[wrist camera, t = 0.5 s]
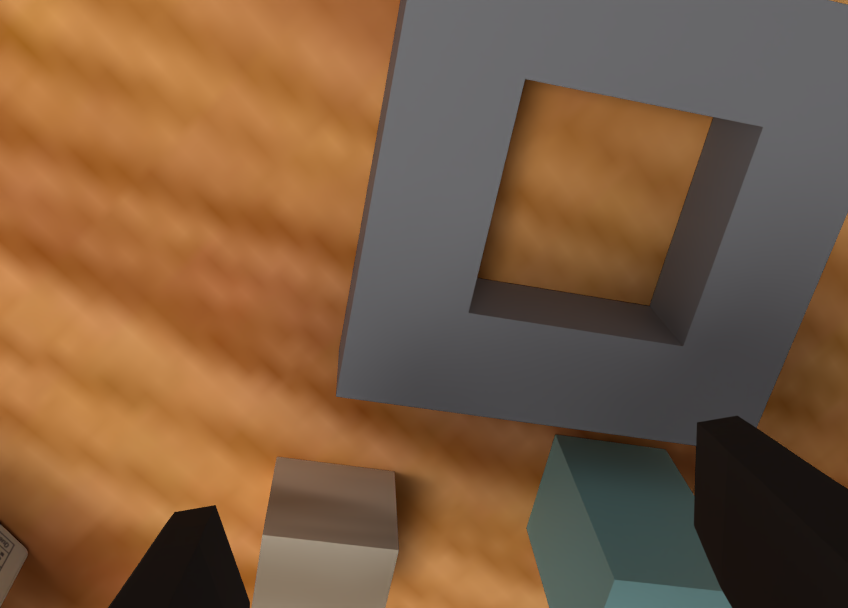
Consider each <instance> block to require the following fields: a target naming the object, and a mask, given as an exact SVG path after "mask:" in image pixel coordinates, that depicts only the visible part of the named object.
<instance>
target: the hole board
mask: <svg viewBox="0 0 848 608" xmlns="http://www.w3.org/2000/svg"><path fill="white" fill-rule="evenodd" d="M525 79H528V80H533V81H538V82H543V83H547V84H552V85H557V86H562V87H567V88H572V89H577V90H582V91H587V92H592V93H597V94H602V95H607V96H612V97H617V98H622V99H627V100H632V101H637V102H642V103H646V104H651V105H656V106H661V107H666V108H671V109H676V110H681V111H686V112H691V113H696V114H701V115H706V116H711V117H713V120H712V123H711V126H710V129H709V132H708V135H707V138H706V141H705V144H704V147H703V150H702V152H701V155H700V158H699V161H698V164H697V167H696V170H695V173H694V176H693V179H692V182H691V185H690V188H689V191H688V194H687V197H686V200H685V203H684V206H683V209H682V212H681V215H680V217H679V220H678V223H677V226H676V229H675V232H674V235H673V238H672V241H671V244H670V247H669V250H668V253H667V256H666V259H665V262H664V265H663V268H662V271H661V274H660V277H659V280H658V282H657V285H656V288H655V291H654V294H653V297H652V300H651V303H650V306H646V305H639V304H633V303H627V302H621V301H615V300H609V299H603V298H596V297H590V296H584V295H578V294H572V293H566V292H559V291H553V290H547V289H541V288H535V287H529V286H523V285H516V284H510V283H504V282H498V281H492V280H486V279H480V278H477V276H478V272H479V267H480V263H481V259H482V255H483V251H484V247H485V243H486V238H487V234H488V230H489V226H490V222H491V218H492V214H493V210H494V205H495V201H496V197H497V193H498V189H499V185H500V181H501V176H502V172H503V168H504V164H505V160H506V156H507V152H508V148H509V143H510V139H511V135H512V131H513V127H514V123H515V119H516V115H517V110H518V106H519V102H520V98H521V94H522V90H523V86H524V81H525ZM847 213H848V5H847V4H842V3H838V2H834V1H829V0H401V1H400V6H399V12H398V18H397V24H396V29H395V35H394V41H393V46H392V52H391V58H390V63H389V69H388V75H387V80H386V86H385V92H384V97H383V103H382V109H381V115H380V120H379V126H378V132H377V137H376V143H375V149H374V154H373V160H372V166H371V171H370V177H369V183H368V189H367V194H366V200H365V206H364V211H363V217H362V223H361V228H360V234H359V240H358V245H357V251H356V257H355V263H354V268H353V274H352V280H351V285H350V291H349V297H348V302H347V308H346V314H345V319H344V325H343V331H342V336H341V342H340V348H339V359H338V374H337V390H336V397H344V398H351V399H358V400H366V401H373V402H380V403H387V404H395V405H402V406H409V407H417V408H424V409H431V410H439V411H446V412H453V413H461V414H468V415H475V416H482V417H490V418H497V419H504V420H512V421H519V422H526V423H534V424H541V425H548V426H556V427H563V428H570V429H578V430H585V431H592V432H599V433H607V434H614V435H621V436H629V437H636V438H643V439H651V440H658V441H665V442H673V443H680V444H687V445H694V446H696V435H697V422H702V421H708V420H714V419H720V418H726V417H732V416H739V417H740V418H742V419H744V420H745V421H747V422H748V423H750V424H751V425H753V426H754V427H756V428H757V425H758V423H759V421H760V418H761V416H762V414H763V411H764V409H765V407H766V404H767V402H768V399H769V397H770V395H771V392H772V390H773V388H774V385H775V383H776V381H777V378H778V376H779V373H780V371H781V369H782V366H783V364H784V362H785V359H786V357H787V355H788V352H789V350H790V348H791V345H792V343H793V340H794V338H795V336H796V333H797V331H798V329H799V326H800V324H801V322H802V319H803V317H804V314H805V312H806V310H807V307H808V305H809V303H810V300H811V298H812V296H813V293H814V291H815V289H816V286H817V284H818V281H819V279H820V277H821V274H822V272H823V270H824V267H825V265H826V263H827V260H828V258H829V255H830V253H831V251H832V248H833V246H834V244H835V241H836V239H837V237H838V234H839V232H840V230H841V227H842V225H843V222H844V220H845V218H846V215H847Z"/></svg>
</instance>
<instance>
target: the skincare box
mask: <svg viewBox="0 0 848 608" xmlns="http://www.w3.org/2000/svg"><path fill="white" fill-rule="evenodd" d="M27 555H28V552H27V549H26V548H25V547H24V546H23V545H22V544H21V543H20V542H19V541H17V540H16V539H15V538H14V537H13V536H12V535H11V534H10V533H9V532H8V531H7V530H6V529H5V528H4V527H3V526H2V525H1V524H0V607H1V605H2V603H3V601H4V599H5V598H6V596H7V594H8V592H9V590H10V588H11V586H12V584H13V582H14V580H15V579H16V577H17V575H18V573H19V571H20V569H21V567H22V565H23V563H24V561H25V559H26V558H27Z"/></svg>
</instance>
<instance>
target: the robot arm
mask: <svg viewBox="0 0 848 608" xmlns="http://www.w3.org/2000/svg"><path fill="white" fill-rule="evenodd" d="M694 527H695V529H696V532H697V534H698V537H699V539H700V541H701V544H702V546H703V549H704V551H705V553H706V556H707V558H708V561H709V563H710V565H711V567H712V570H713V572H714V574H715V576H716V579H717V581H718V583H719V585H720V588H721V589H722V591H723V593H724V595H725V596H726V598H727V600H728V602H729V603H730V605H731V607H732V608H848V489H847V488H845V487H844V486H842V485H841V484H839V483H838V482H836V481H834V480H833V479H831V478H830V477H828V476H827V475H825V474H824V473H822V472H821V471H819V470H818V469H816V468H815V467H813V466H812V465H810V464H809V463H807V462H806V461H804V460H803V459H801V458H800V457H798V456H797V455H795V454H794V453H792V452H791V451H789V450H788V449H787V448H785V447H784V446H782V445H781V444H779V443H778V442H776V441H775V440H773V439H772V438H770V437H769V436H767V435H766V434H765V433H763V432H762V431H760V430H759V429H757V428H756V427H754V426H753V425H751V424H750V423H748V422H747V421H745V420H744V419H742V418H740V417H739V416H732V417H726V418H720V419H714V420H708V421H702V422H697V435H696V467H695V499H694ZM108 608H250V601H249V599H248V596H247V593H246V590H245V587H244V584H243V582H242V579H241V576H240V573H239V570H238V568H237V565H236V562H235V559H234V556H233V553H232V551H231V548H230V545H229V542H228V539H227V536H226V534H225V531H224V528H223V525H222V522H221V520H220V517H219V514H218V511H217V508H216V505H214V506H208V507H202V508H197V509H191V510H185V511H179V512H174V514H173V515H172V516H171V518H170V519H169V520H168V522H167V523H166V525H165V526H164V527H163V529H162V530H161V532H160V533H159V535H158V536H157V538H156V539H155V540H154V542H153V543H152V545H151V546H150V548H149V549H148V551H147V552H146V554H145V555H144V557H143V558H142V560H141V561H140V563H139V564H138V565H137V567H136V568H135V570H134V571H133V573H132V574H131V576H130V577H129V579H128V580H127V581H126V583H125V584H124V586H123V587H122V589H121V590H120V592H119V593H118V594H117V596H116V597H115V599H114V600H113V601H112V603H111V604H110V606H109V607H108Z"/></svg>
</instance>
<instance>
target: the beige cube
mask: <svg viewBox="0 0 848 608" xmlns="http://www.w3.org/2000/svg"><path fill="white" fill-rule="evenodd" d="M398 552H399V545H398V527H397V509H396V490H395V472H394V471H387V470H379V469H371V468H363V467H355V466H347V465H339V464H331V463H323V462H315V461H307V460H300V459H292V458H284V457H277V459H276V464H275V469H274V475H273V480H272V486H271V491H270V497H269V502H268V508H267V513H266V519H265V524H264V530H263V535H262V542H261V549H260V555H259V562H258V569H257V575H256V582H255V589H254V595H253V602H252V608H385V607H386V602H387V598H388V594H389V590H390V585H391V581H392V577H393V573H394V569H395V564H396V560H397V556H398Z"/></svg>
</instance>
